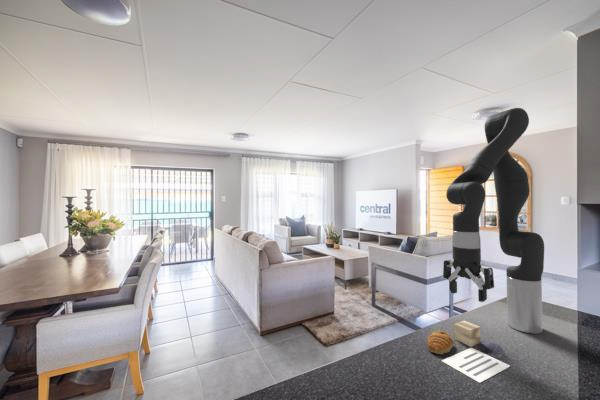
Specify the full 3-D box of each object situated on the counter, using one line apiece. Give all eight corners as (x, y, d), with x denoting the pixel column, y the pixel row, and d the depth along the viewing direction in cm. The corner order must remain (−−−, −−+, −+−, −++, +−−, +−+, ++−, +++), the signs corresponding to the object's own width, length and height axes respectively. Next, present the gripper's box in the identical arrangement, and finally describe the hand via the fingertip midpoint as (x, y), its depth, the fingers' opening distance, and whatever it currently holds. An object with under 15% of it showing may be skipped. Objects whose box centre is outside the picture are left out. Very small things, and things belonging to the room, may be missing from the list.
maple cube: (464, 335, 86) (463, 320, 86) (480, 342, 81) (480, 326, 81) (454, 339, 83) (454, 323, 83) (470, 347, 79) (470, 330, 79)
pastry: (448, 360, 73) (447, 346, 73) (422, 351, 77) (422, 338, 77) (454, 345, 80) (454, 333, 80) (430, 338, 84) (430, 326, 84)
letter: (471, 347, 78) (471, 347, 78) (510, 366, 69) (510, 365, 69) (441, 360, 72) (441, 360, 72) (479, 383, 63) (479, 382, 63)
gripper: (498, 247, 78) (499, 302, 78) (451, 241, 91) (452, 288, 90) (483, 250, 74) (485, 307, 74) (437, 243, 87) (438, 292, 87)
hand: (467, 296), depth 82 cm, fingers open, 8 cm apart
